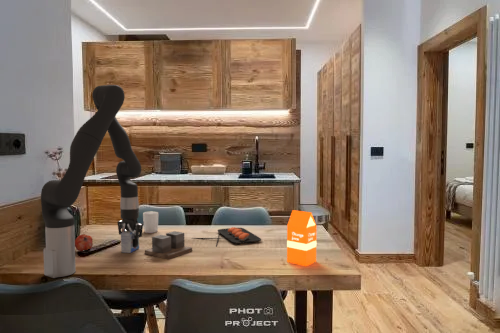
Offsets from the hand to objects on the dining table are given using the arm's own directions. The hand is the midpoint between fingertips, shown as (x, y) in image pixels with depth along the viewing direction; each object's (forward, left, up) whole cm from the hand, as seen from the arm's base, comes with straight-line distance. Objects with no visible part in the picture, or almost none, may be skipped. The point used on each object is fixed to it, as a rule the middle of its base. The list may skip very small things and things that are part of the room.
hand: (130, 245), depth 166 cm
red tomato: (-11, +17, -2) cm, 20 cm away
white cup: (+30, +20, -2) cm, 36 cm away
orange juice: (+26, -69, -2) cm, 74 cm away
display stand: (+7, -16, -2) cm, 18 cm away
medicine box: (0, 0, -2) cm, 2 cm away
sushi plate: (+39, -21, -3) cm, 44 cm away
